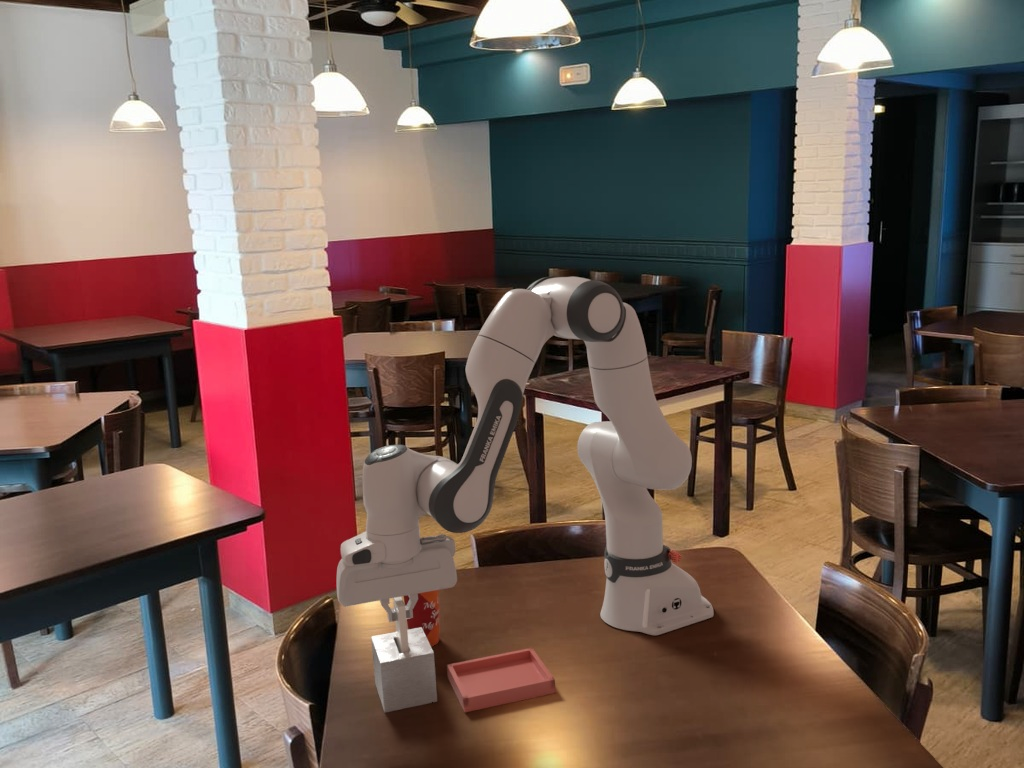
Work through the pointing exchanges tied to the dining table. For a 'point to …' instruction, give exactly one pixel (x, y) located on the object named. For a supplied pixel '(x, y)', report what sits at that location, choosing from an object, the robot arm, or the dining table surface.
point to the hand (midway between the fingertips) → (400, 618)
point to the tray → (500, 679)
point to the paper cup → (426, 615)
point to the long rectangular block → (401, 625)
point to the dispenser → (404, 671)
